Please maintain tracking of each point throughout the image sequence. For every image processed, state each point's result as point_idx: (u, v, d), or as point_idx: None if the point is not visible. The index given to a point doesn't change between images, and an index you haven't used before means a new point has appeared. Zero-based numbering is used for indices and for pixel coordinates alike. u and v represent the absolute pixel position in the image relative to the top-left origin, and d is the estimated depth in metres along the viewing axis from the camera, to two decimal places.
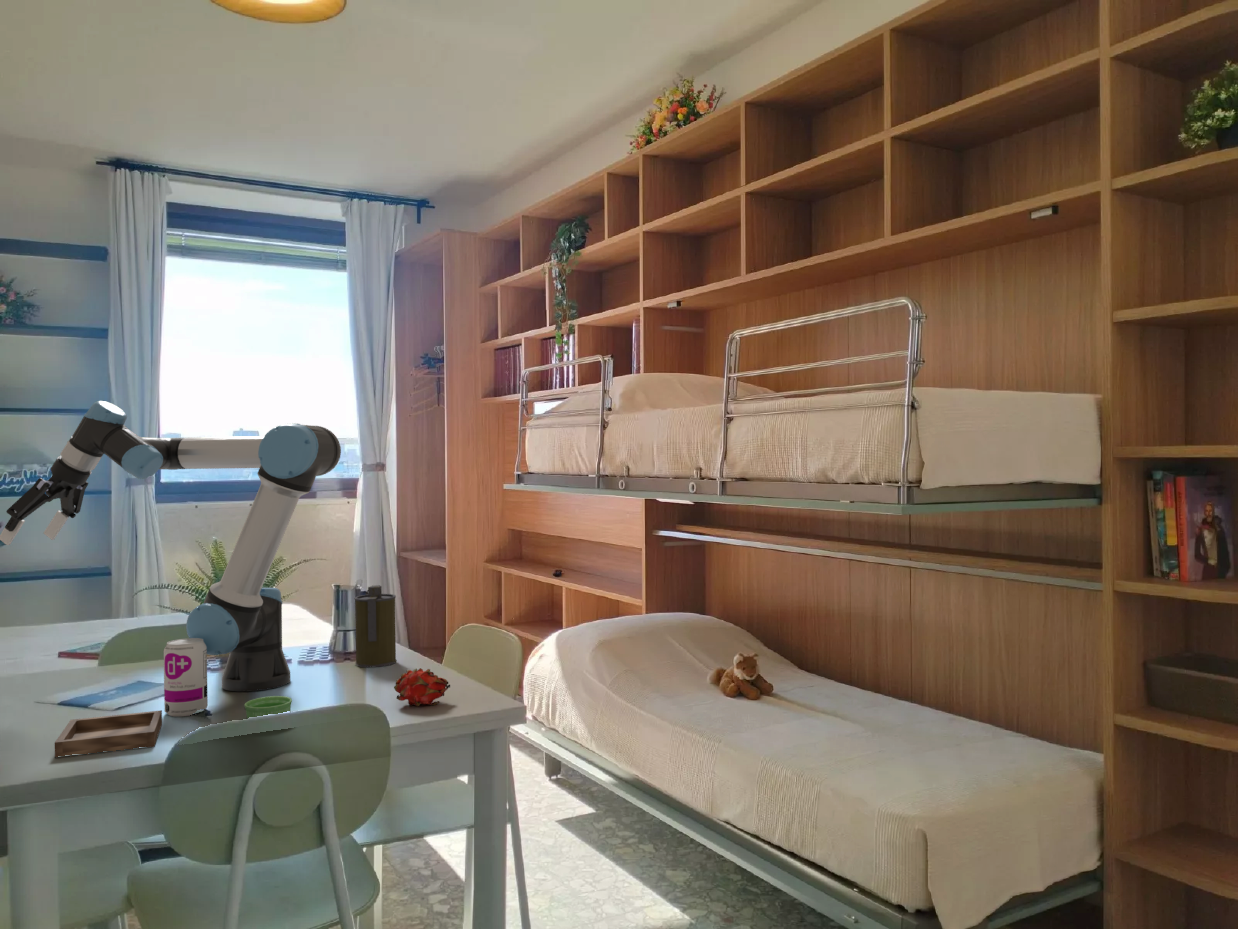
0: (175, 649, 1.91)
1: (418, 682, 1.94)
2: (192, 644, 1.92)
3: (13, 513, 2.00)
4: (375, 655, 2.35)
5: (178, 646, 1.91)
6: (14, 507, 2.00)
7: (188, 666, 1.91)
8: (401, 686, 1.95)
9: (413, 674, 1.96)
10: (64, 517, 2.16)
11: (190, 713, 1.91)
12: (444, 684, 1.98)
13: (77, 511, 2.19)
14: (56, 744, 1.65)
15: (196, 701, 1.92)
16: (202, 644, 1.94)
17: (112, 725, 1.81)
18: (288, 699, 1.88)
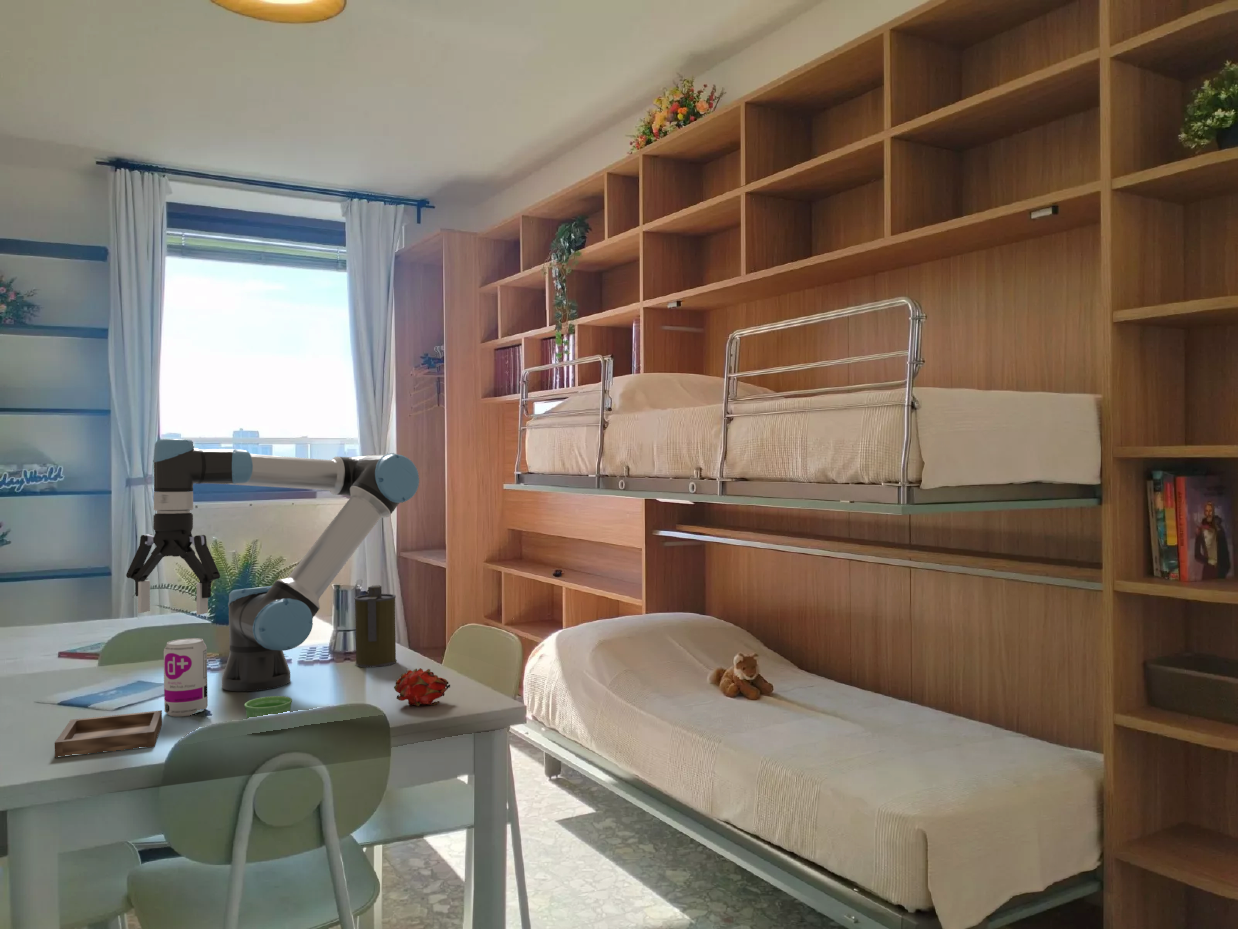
0: (175, 649, 1.91)
1: (418, 682, 1.94)
2: (192, 644, 1.92)
3: (217, 574, 1.93)
4: (375, 655, 2.35)
5: (178, 646, 1.91)
6: (213, 570, 1.92)
7: (188, 666, 1.91)
8: (401, 686, 1.95)
9: (413, 674, 1.96)
10: (148, 582, 1.96)
11: (190, 713, 1.91)
12: (444, 684, 1.98)
13: None
14: (56, 744, 1.65)
15: (196, 701, 1.92)
16: (202, 644, 1.94)
17: (112, 725, 1.81)
18: (288, 699, 1.88)
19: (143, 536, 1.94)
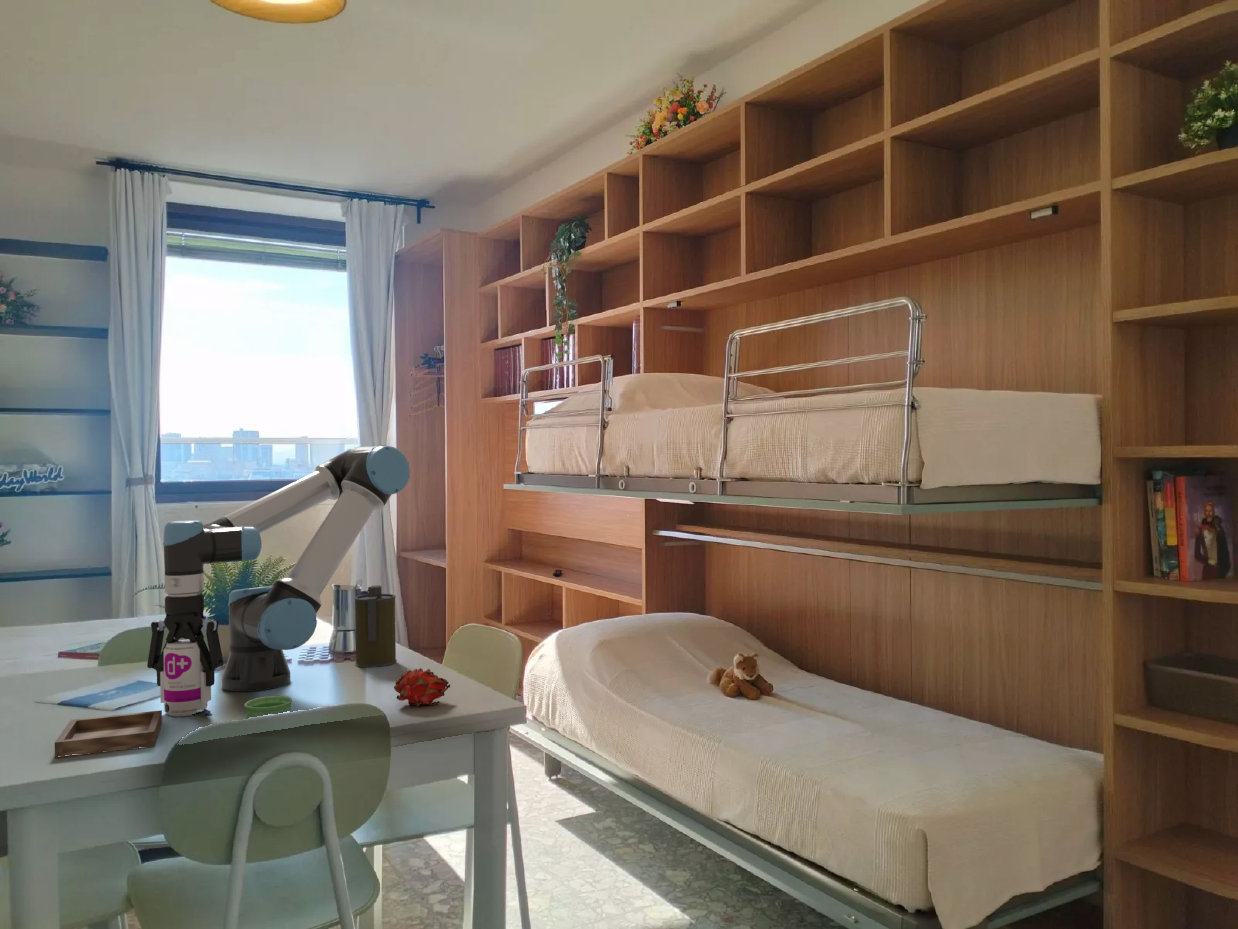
0: (175, 649, 1.91)
1: (418, 682, 1.94)
2: (192, 644, 1.92)
3: (221, 663, 1.94)
4: (375, 655, 2.35)
5: (178, 646, 1.91)
6: (218, 659, 1.93)
7: (188, 666, 1.91)
8: (401, 686, 1.95)
9: (413, 674, 1.96)
10: None
11: (190, 713, 1.91)
12: (444, 684, 1.98)
13: None
14: (56, 744, 1.65)
15: (195, 701, 1.92)
16: None
17: (112, 725, 1.81)
18: (288, 699, 1.88)
19: (153, 623, 1.94)
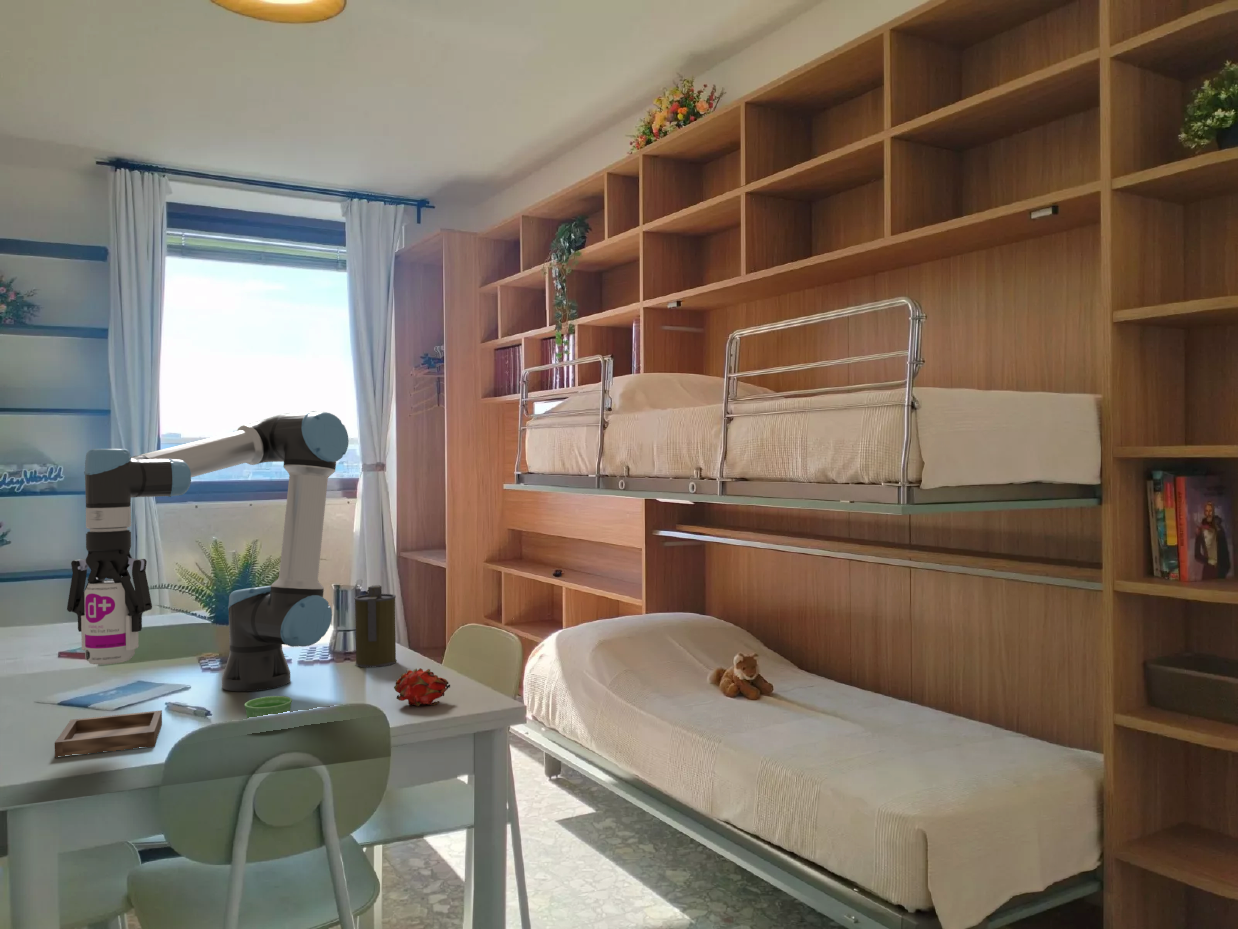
0: (97, 589, 1.71)
1: (418, 682, 1.94)
2: (116, 584, 1.73)
3: (149, 606, 1.75)
4: (375, 655, 2.35)
5: (100, 586, 1.72)
6: (145, 601, 1.74)
7: (111, 608, 1.72)
8: (401, 686, 1.95)
9: (413, 674, 1.96)
10: None
11: (113, 661, 1.72)
12: (444, 684, 1.98)
13: None
14: (56, 744, 1.65)
15: (120, 647, 1.73)
16: None
17: (112, 725, 1.81)
18: (288, 699, 1.88)
19: (74, 561, 1.74)
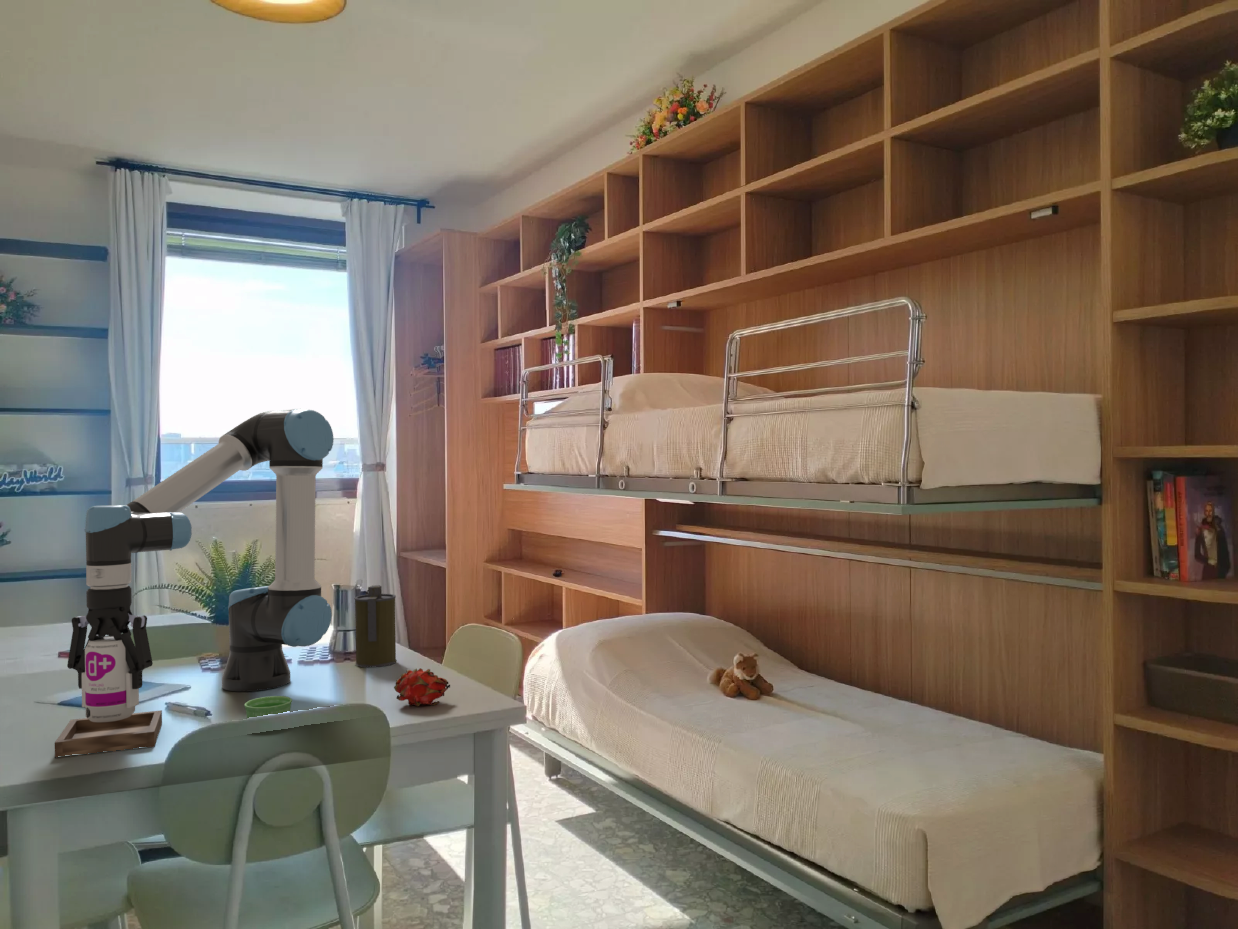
0: (97, 647, 1.71)
1: (418, 682, 1.94)
2: (116, 642, 1.73)
3: (149, 663, 1.75)
4: (375, 655, 2.35)
5: (100, 644, 1.72)
6: (146, 658, 1.74)
7: (112, 666, 1.72)
8: (401, 686, 1.95)
9: (413, 674, 1.96)
10: None
11: (113, 718, 1.72)
12: (444, 684, 1.98)
13: None
14: (56, 744, 1.65)
15: (120, 705, 1.73)
16: None
17: (112, 725, 1.81)
18: (288, 699, 1.88)
19: (74, 618, 1.74)
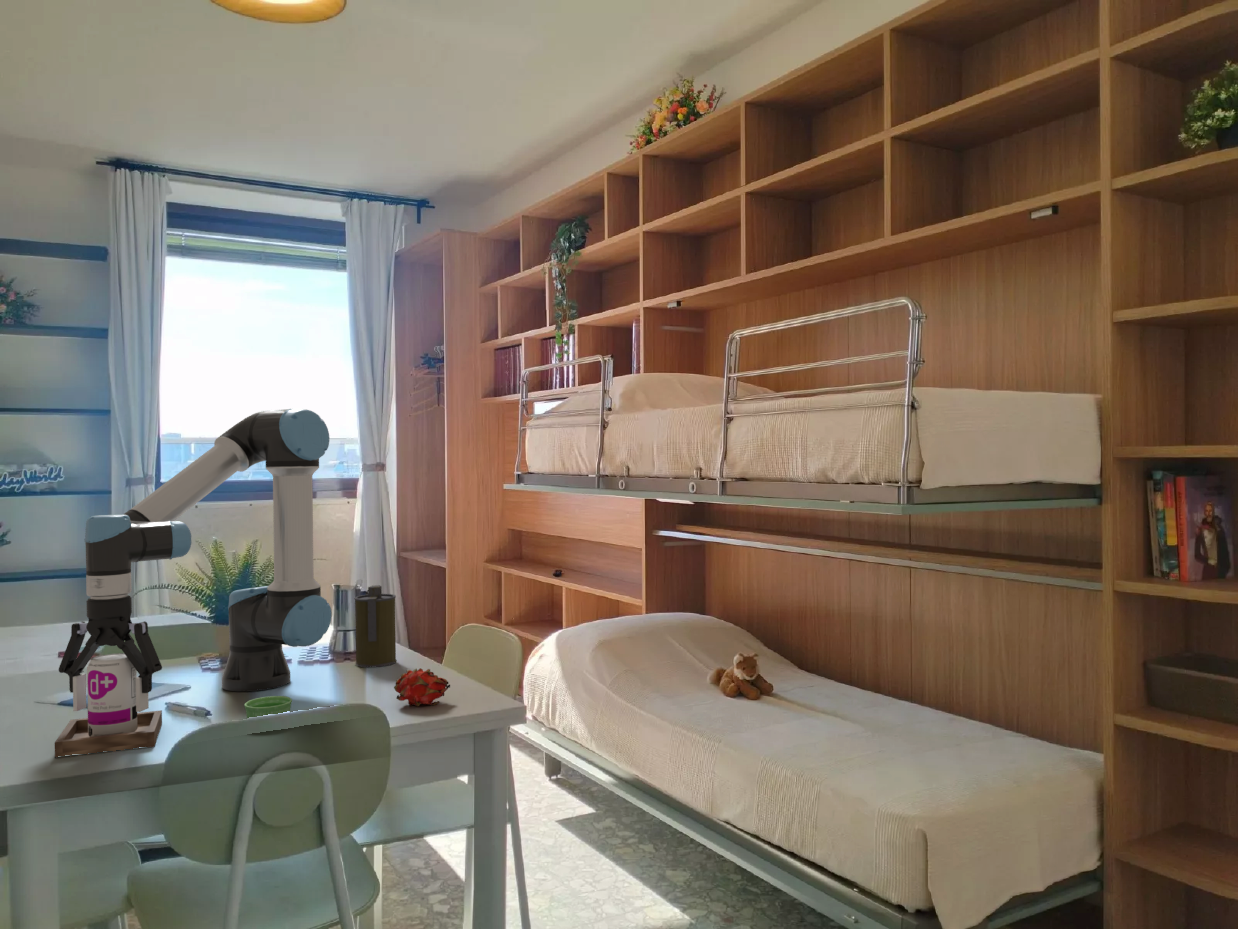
0: (99, 665, 1.71)
1: (418, 682, 1.94)
2: (118, 660, 1.73)
3: (158, 666, 1.75)
4: (375, 655, 2.35)
5: (102, 662, 1.72)
6: (154, 662, 1.74)
7: (113, 684, 1.72)
8: (401, 686, 1.95)
9: (413, 674, 1.96)
10: (84, 675, 1.77)
11: None
12: (444, 684, 1.98)
13: None
14: (56, 744, 1.65)
15: (122, 723, 1.73)
16: None
17: None
18: (288, 699, 1.88)
19: (75, 625, 1.74)
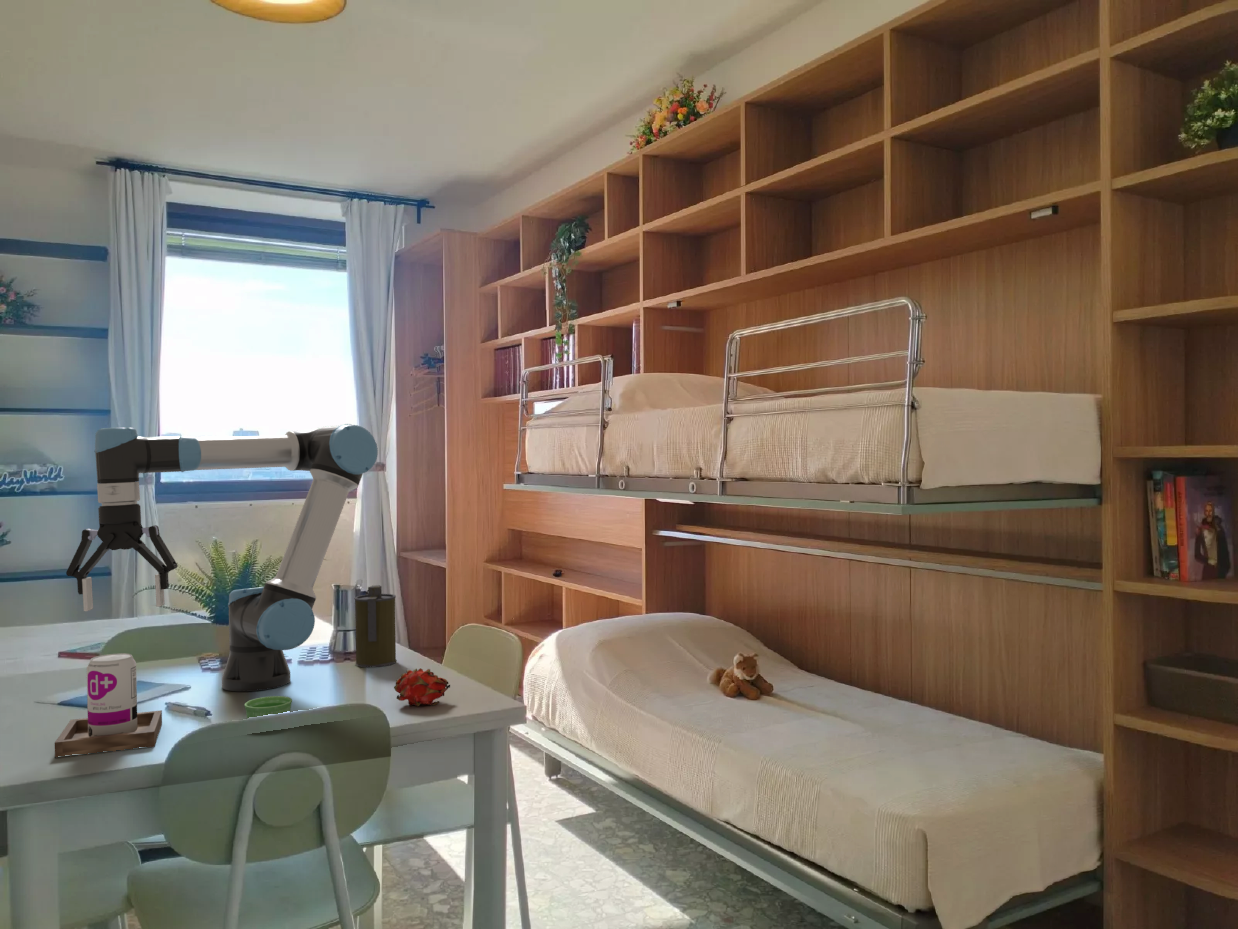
0: (99, 666, 1.71)
1: (418, 682, 1.94)
2: (118, 661, 1.73)
3: (175, 564, 1.89)
4: (375, 655, 2.35)
5: (102, 663, 1.72)
6: (171, 560, 1.88)
7: (113, 685, 1.72)
8: (401, 686, 1.95)
9: (413, 674, 1.96)
10: (90, 578, 1.87)
11: None
12: (444, 684, 1.98)
13: None
14: (56, 744, 1.65)
15: (122, 724, 1.73)
16: (130, 660, 1.75)
17: None
18: (288, 699, 1.88)
19: (85, 531, 1.84)
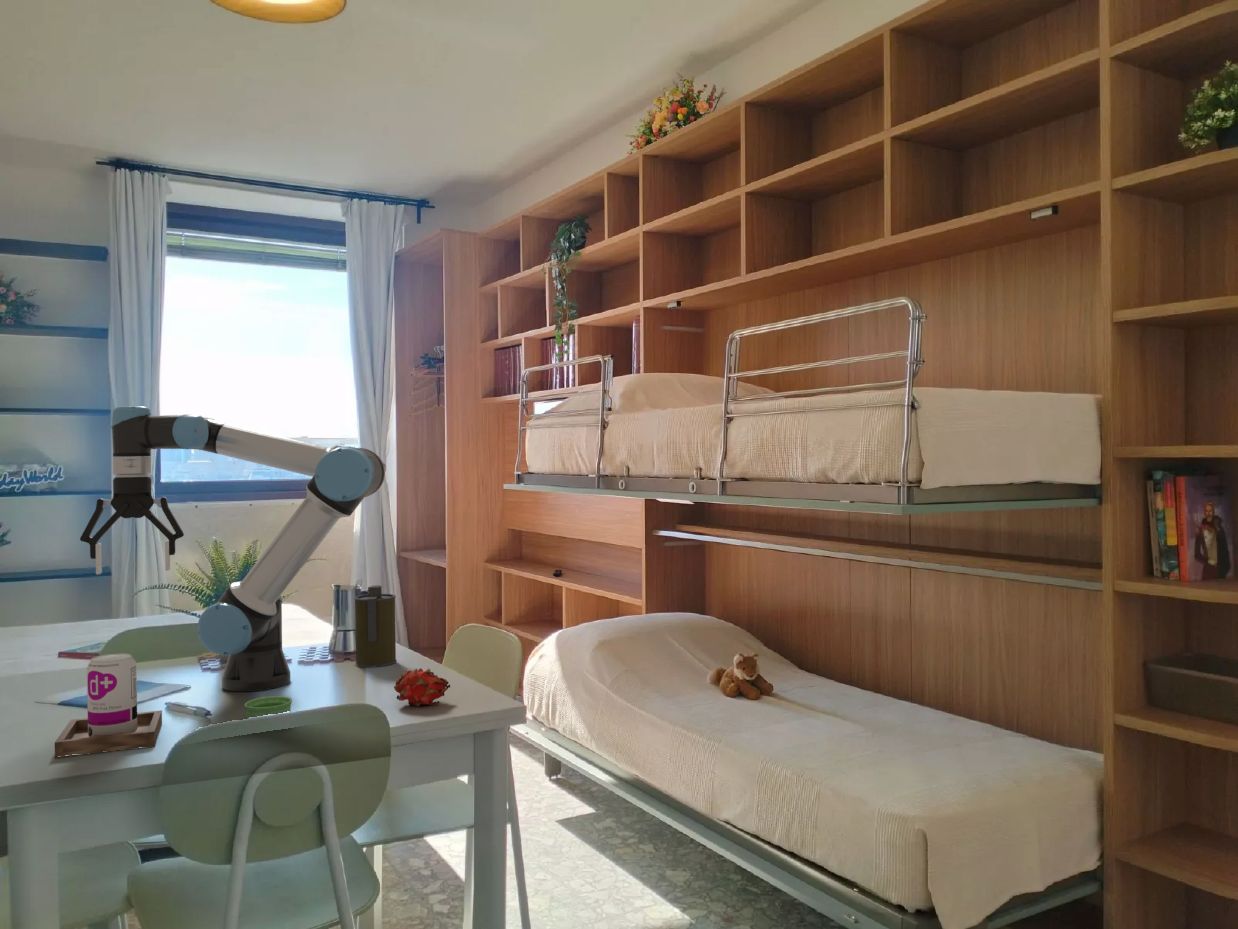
0: (99, 666, 1.71)
1: (418, 682, 1.94)
2: (118, 661, 1.73)
3: (182, 532, 2.08)
4: (375, 655, 2.35)
5: (102, 663, 1.72)
6: (180, 528, 2.07)
7: (113, 685, 1.72)
8: (401, 686, 1.95)
9: (413, 674, 1.96)
10: None
11: None
12: (444, 684, 1.98)
13: None
14: (56, 744, 1.65)
15: (122, 724, 1.73)
16: (130, 660, 1.75)
17: None
18: (288, 699, 1.88)
19: (100, 500, 2.01)
